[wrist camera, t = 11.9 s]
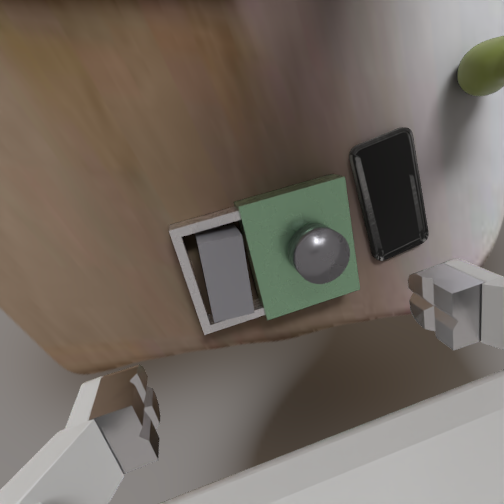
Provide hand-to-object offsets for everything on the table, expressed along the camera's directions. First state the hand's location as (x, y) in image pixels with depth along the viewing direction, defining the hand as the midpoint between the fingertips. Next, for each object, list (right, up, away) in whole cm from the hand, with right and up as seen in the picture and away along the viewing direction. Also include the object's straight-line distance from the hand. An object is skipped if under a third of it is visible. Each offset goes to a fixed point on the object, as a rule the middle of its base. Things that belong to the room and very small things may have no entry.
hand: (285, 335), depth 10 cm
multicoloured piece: (+1, +2, +31) cm, 31 cm away
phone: (+16, +9, +32) cm, 37 cm away
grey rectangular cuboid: (-5, +1, +30) cm, 30 cm away
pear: (+24, +23, +29) cm, 44 cm away
